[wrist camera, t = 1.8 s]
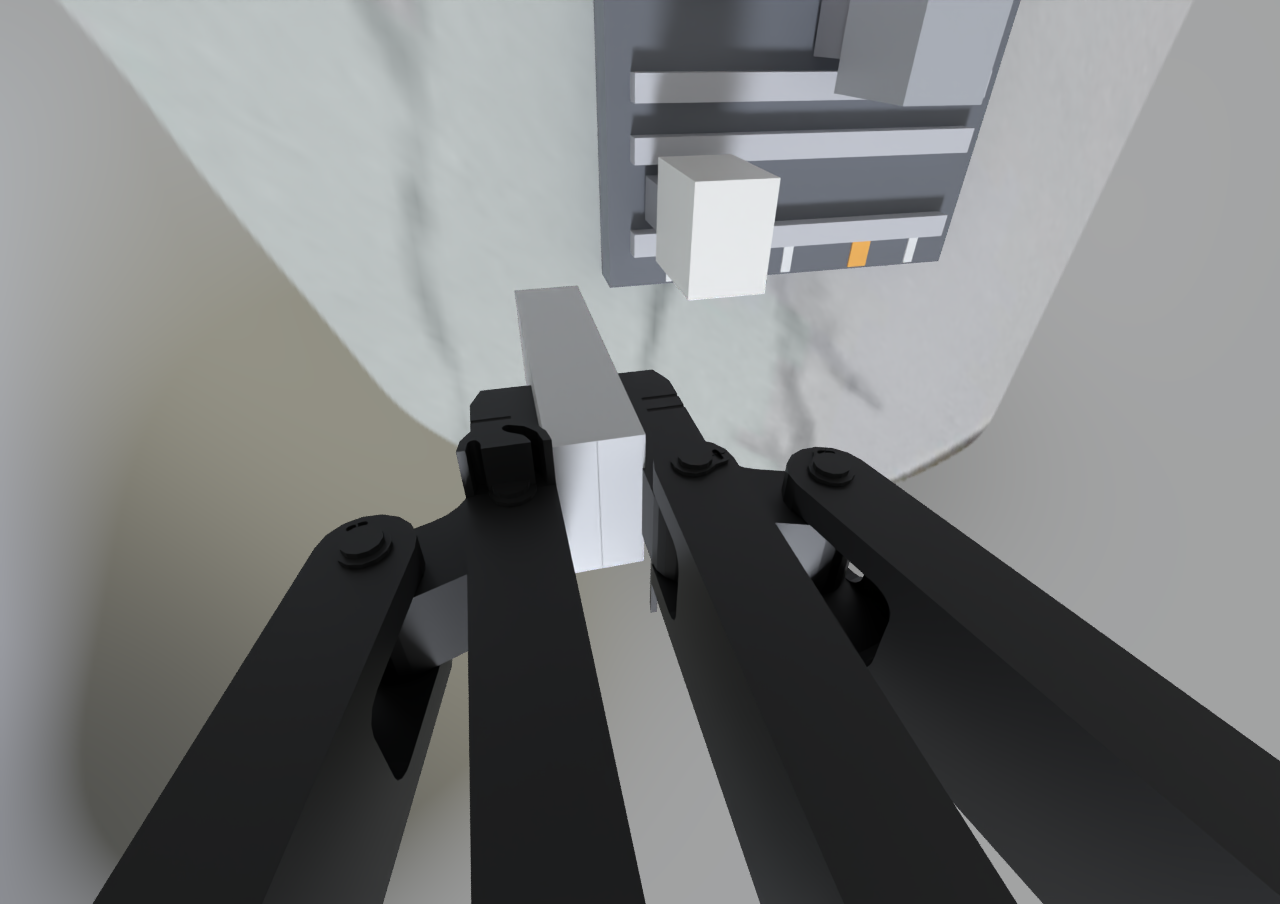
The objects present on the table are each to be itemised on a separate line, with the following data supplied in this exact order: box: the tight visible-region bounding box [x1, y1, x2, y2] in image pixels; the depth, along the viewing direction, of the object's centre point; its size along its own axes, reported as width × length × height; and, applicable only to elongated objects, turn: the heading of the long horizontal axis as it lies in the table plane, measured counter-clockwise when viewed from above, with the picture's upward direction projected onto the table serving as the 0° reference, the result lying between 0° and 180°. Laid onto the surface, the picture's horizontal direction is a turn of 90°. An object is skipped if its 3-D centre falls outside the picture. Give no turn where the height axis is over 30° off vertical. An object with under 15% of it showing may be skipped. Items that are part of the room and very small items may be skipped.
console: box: [594, 0, 1020, 288], centre depth 26 cm, size 14×18×3 cm
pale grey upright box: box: [813, 0, 1014, 106], centre depth 21 cm, size 4×3×7 cm
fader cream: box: [645, 154, 781, 300], centre depth 23 cm, size 4×3×7 cm
